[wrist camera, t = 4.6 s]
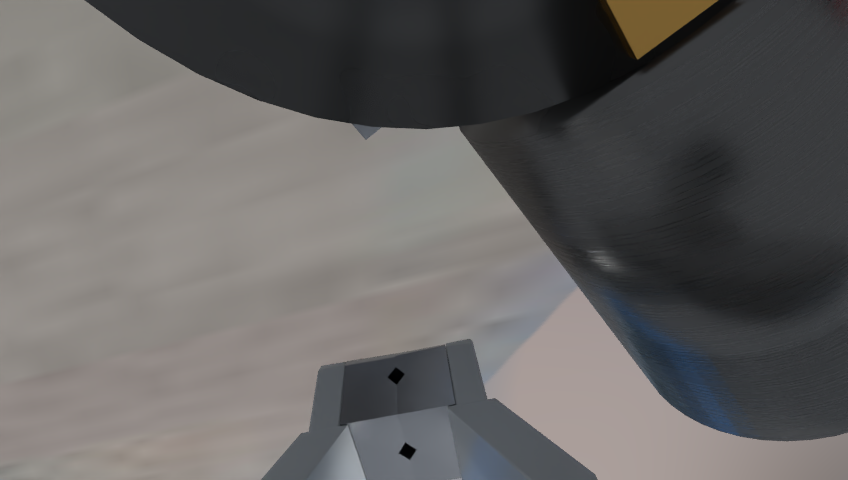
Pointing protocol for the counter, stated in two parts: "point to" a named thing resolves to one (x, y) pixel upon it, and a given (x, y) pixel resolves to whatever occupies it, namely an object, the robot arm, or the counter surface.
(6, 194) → the counter surface
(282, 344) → the counter surface
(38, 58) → the counter surface
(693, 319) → the elbow
